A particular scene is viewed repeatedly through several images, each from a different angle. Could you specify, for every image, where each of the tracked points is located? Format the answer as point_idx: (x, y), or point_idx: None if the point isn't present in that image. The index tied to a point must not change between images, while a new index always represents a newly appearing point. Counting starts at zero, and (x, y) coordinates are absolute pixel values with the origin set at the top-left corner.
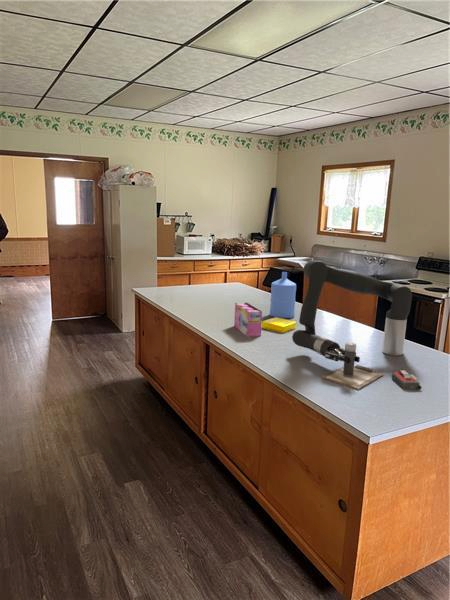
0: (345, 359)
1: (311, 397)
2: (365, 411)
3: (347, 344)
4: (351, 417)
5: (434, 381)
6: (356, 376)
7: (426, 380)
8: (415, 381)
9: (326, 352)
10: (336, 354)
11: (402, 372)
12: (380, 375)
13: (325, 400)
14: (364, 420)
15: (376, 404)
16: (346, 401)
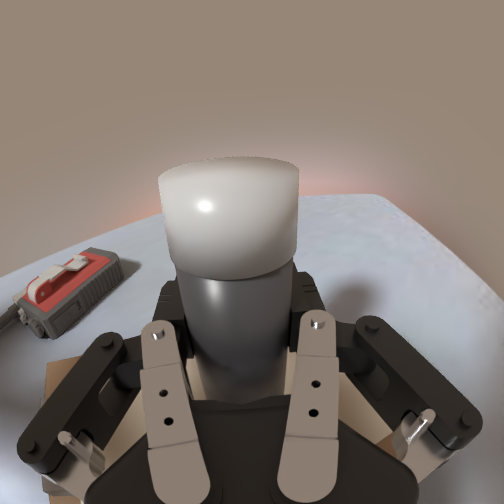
0: (313, 288)
1: (477, 281)
2: (351, 223)
3: (284, 167)
4: (392, 217)
5: (8, 284)
6: (199, 393)
7: (11, 293)
8: (85, 252)
9: (473, 411)
10: (374, 343)
11: (55, 274)
12: (71, 360)
13: (441, 265)
14: (369, 209)
15: (301, 235)
16: (382, 254)
